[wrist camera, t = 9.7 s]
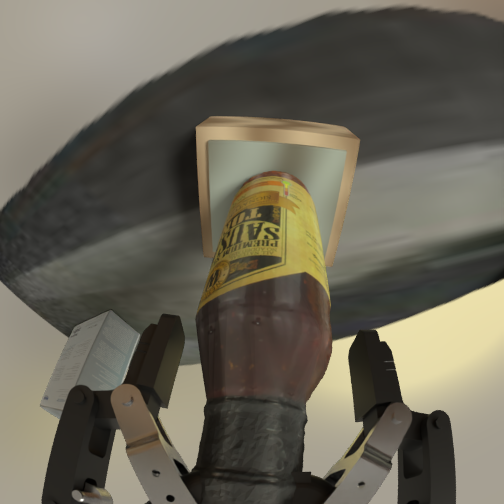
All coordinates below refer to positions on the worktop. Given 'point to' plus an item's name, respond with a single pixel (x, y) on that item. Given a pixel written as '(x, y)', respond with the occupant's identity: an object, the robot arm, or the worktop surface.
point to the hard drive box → (91, 359)
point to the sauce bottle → (262, 342)
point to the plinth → (274, 168)
